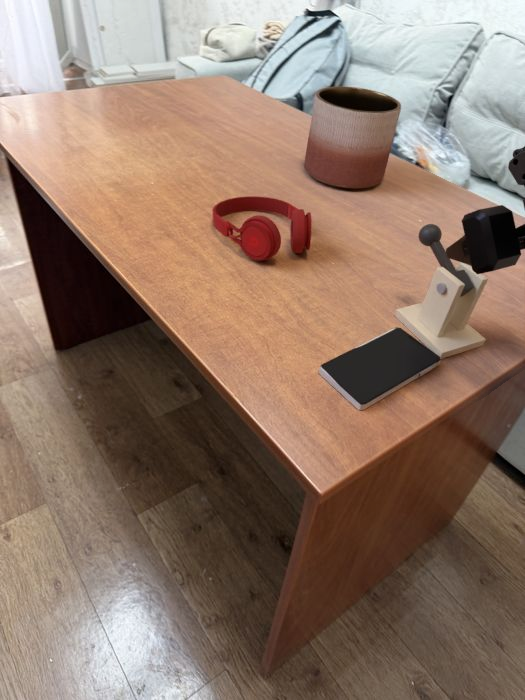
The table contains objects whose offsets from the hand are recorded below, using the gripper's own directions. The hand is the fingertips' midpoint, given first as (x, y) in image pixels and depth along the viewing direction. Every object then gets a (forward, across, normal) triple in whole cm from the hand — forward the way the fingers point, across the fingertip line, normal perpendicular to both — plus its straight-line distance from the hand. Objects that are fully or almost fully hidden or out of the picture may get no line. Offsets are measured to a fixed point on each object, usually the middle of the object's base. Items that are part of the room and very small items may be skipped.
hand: (475, 246), depth 60 cm
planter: (+48, -19, -24) cm, 56 cm away
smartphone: (+8, +12, +12) cm, 19 cm away
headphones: (+34, +12, -12) cm, 38 cm away
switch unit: (+10, -1, +10) cm, 14 cm away
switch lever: (+8, -1, +1) cm, 8 cm away
